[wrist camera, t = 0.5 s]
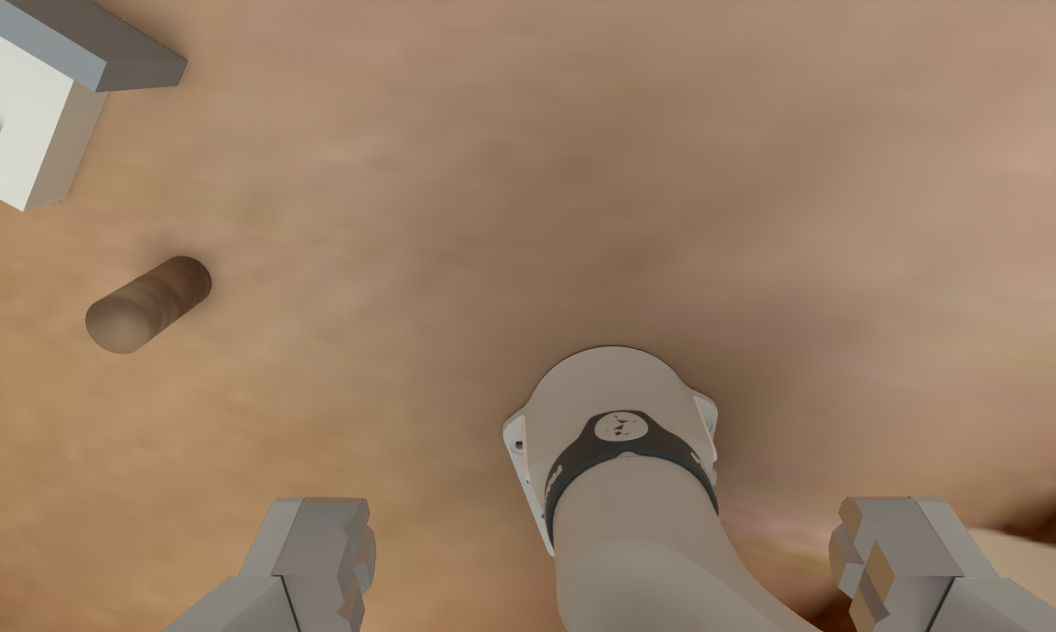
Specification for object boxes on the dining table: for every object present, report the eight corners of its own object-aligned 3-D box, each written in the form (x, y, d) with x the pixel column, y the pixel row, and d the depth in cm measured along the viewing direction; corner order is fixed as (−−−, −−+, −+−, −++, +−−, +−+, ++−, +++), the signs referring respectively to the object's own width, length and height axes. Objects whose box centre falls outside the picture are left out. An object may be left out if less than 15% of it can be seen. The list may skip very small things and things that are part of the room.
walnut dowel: (217, 300, 55) (154, 350, 45) (170, 305, 55) (97, 357, 46) (203, 253, 53) (135, 295, 44) (154, 259, 53) (76, 302, 44)
